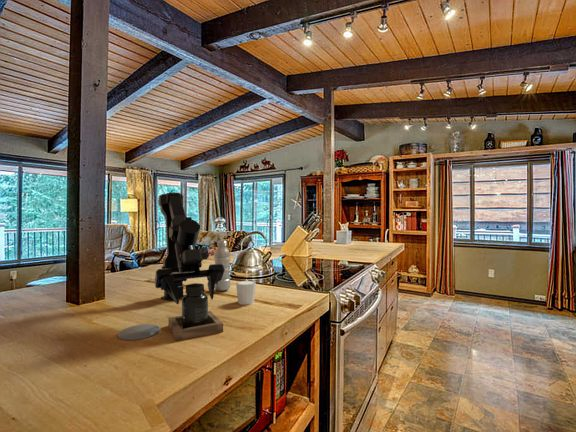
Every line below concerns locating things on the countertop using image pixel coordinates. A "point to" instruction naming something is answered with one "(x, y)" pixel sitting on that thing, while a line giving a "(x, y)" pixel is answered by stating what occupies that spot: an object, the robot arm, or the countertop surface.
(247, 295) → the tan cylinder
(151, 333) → the slate coaster
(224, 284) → the plastic bottle
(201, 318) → the supplement bottle
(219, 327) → the brown flat square frame
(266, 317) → the countertop surface
